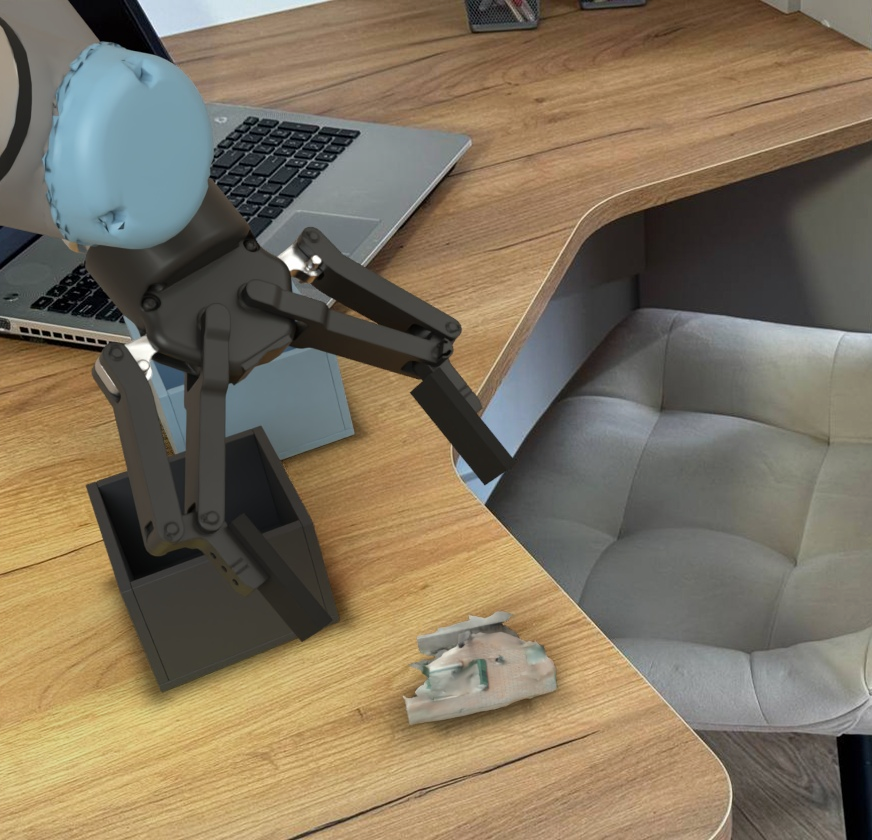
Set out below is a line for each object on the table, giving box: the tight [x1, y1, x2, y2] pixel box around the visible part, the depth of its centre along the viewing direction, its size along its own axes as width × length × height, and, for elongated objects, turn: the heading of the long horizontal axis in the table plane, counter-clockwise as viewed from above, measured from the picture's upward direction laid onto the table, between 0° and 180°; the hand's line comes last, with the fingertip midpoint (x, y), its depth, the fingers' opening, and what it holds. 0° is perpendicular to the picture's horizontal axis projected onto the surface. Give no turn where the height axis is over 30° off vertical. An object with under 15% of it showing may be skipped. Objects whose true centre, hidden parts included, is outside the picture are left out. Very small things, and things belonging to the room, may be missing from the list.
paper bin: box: [122, 281, 355, 461], centre depth 89 cm, size 11×11×8 cm
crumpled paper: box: [402, 610, 558, 726], centre depth 68 cm, size 4×8×7 cm, turn 106°
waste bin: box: [85, 426, 341, 693], centre depth 74 cm, size 10×10×8 cm
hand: (415, 548), depth 66 cm, fingers open, 13 cm apart
